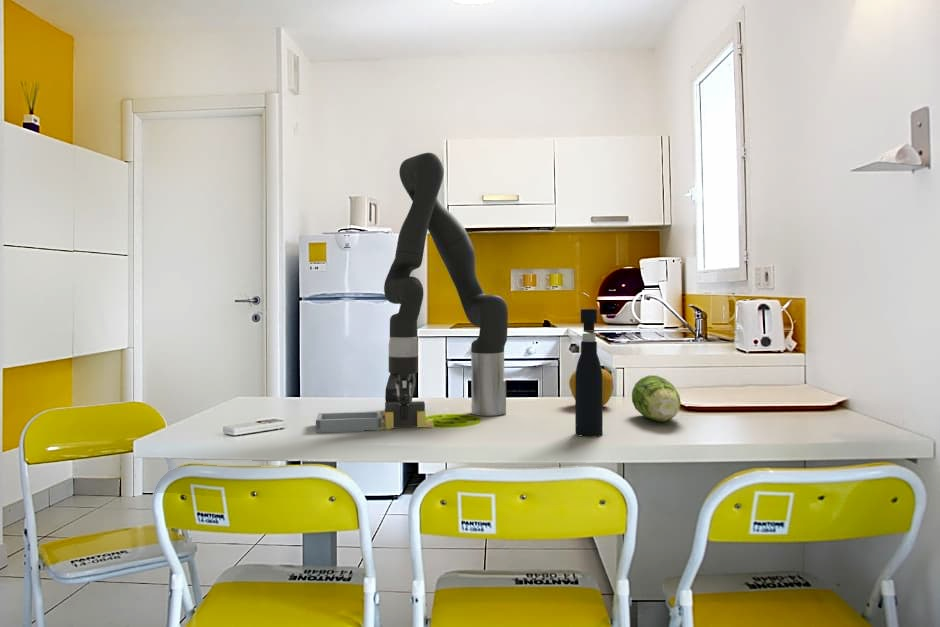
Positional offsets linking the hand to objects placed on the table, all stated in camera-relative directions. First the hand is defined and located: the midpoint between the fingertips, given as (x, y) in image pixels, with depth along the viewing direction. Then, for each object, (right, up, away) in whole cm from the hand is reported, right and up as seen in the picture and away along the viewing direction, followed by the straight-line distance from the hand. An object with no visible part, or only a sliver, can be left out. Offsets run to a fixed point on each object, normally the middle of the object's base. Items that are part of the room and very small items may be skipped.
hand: (403, 417), depth 180 cm
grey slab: (+1, -2, 0) cm, 2 cm away
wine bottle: (+46, -3, -12) cm, 47 cm away
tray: (-13, -2, -2) cm, 14 cm away
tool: (-2, -2, +18) cm, 19 cm away
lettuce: (+67, -2, +4) cm, 67 cm away
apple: (+53, -1, +28) cm, 60 cm away
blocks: (0, -2, 0) cm, 2 cm away
